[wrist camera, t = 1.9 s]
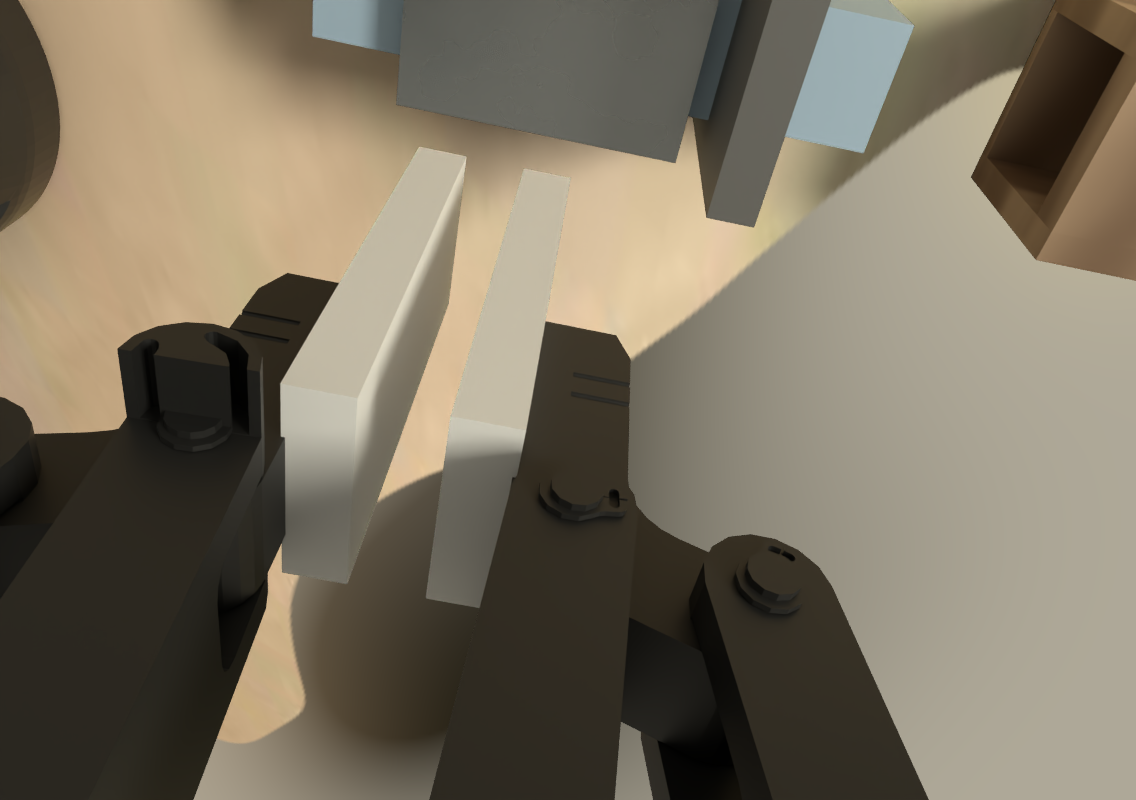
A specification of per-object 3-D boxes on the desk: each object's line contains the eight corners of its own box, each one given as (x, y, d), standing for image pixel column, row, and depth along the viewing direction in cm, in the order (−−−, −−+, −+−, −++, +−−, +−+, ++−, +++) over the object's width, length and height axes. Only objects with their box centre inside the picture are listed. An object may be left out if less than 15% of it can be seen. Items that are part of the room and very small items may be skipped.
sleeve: (434, 52, 33) (396, 104, 28) (452, -147, 29) (412, -128, 24) (670, 102, 33) (675, 163, 28) (718, -87, 30) (734, -56, 24)
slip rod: (351, 37, 32) (258, 125, 25) (358, -167, 29) (252, -140, 21) (826, 138, 33) (881, 253, 25) (894, -46, 29) (983, 22, 22)
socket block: (970, 177, 34) (1036, 259, 28) (1067, -23, 30) (1165, 28, 24) (1081, 200, 34) (1168, 287, 29) (1192, 5, 30) (1319, 62, 24)
